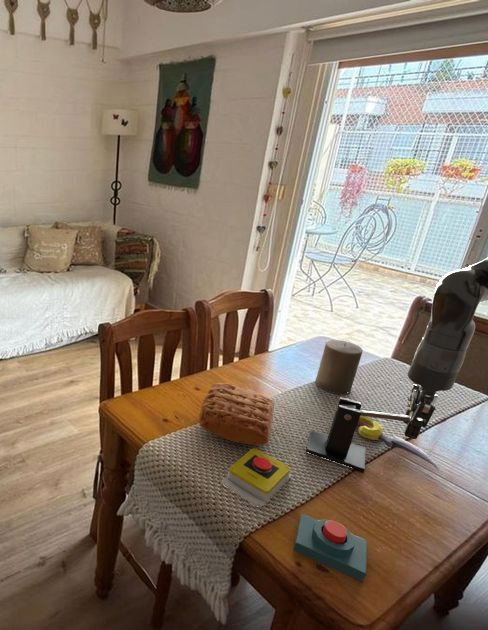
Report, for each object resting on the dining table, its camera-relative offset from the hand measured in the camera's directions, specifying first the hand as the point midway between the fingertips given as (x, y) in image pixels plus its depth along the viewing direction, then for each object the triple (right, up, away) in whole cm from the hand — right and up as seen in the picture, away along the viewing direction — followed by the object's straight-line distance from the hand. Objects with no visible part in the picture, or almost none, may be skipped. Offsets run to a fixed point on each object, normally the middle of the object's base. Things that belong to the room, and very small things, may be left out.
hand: (409, 429), depth 96 cm
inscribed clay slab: (-31, -4, +19) cm, 37 cm away
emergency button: (-33, -12, +1) cm, 35 cm away
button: (-27, -15, -16) cm, 35 cm away
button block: (-27, -18, -15) cm, 36 cm away
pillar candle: (+7, +3, +39) cm, 40 cm away
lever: (-5, +2, +3) cm, 6 cm away
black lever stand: (-10, -8, +10) cm, 17 cm away
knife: (+5, -7, +15) cm, 17 cm away
